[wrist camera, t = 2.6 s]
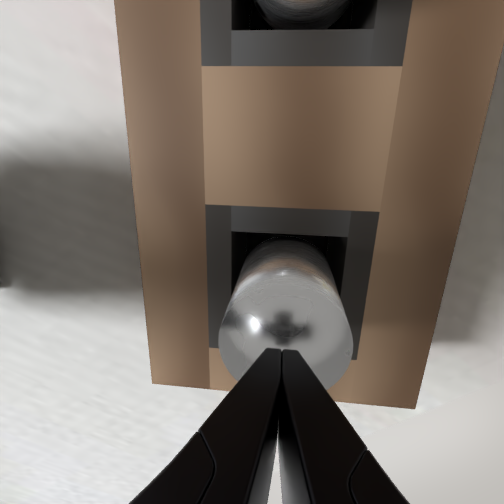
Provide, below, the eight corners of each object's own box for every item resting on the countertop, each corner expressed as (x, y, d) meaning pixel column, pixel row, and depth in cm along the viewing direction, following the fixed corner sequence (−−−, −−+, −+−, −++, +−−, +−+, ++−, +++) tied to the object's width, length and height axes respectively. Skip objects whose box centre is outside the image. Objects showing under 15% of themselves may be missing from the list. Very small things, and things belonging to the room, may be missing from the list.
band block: (184, 326, 20) (152, 383, 15) (157, -155, 13) (81, -331, 8) (383, 342, 19) (415, 409, 14) (478, -176, 12) (609, -394, 7)
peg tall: (240, 314, 14) (218, 394, 10) (241, 233, 13) (217, 281, 9) (326, 321, 14) (344, 406, 10) (335, 238, 13) (362, 291, 8)
